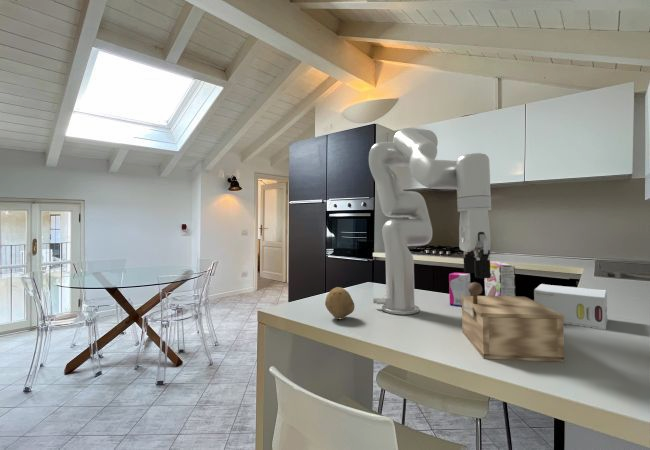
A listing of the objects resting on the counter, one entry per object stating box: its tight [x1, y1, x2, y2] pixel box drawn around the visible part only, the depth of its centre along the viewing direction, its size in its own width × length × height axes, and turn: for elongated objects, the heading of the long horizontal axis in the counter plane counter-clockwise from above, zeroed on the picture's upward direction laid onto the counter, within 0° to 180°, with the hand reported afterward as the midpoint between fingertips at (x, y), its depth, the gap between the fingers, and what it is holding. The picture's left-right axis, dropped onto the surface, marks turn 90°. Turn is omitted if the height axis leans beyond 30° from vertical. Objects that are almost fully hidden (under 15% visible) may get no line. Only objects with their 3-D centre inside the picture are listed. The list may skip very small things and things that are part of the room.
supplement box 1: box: [448, 272, 472, 308], centre depth 120 cm, size 6×6×12 cm
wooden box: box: [461, 301, 565, 363], centre depth 79 cm, size 16×18×9 cm
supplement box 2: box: [533, 283, 608, 331], centre depth 100 cm, size 17×13×9 cm
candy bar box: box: [484, 260, 516, 296], centre depth 109 cm, size 11×5×16 cm, turn 179°
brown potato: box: [324, 286, 355, 319], centre depth 105 cm, size 9×9×10 cm
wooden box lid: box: [460, 281, 564, 319], centre depth 79 cm, size 17×18×8 cm
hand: (476, 275), depth 80 cm, fingers open, 9 cm apart
